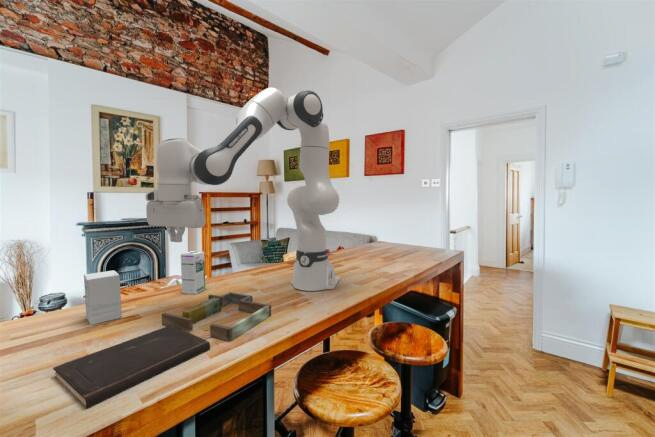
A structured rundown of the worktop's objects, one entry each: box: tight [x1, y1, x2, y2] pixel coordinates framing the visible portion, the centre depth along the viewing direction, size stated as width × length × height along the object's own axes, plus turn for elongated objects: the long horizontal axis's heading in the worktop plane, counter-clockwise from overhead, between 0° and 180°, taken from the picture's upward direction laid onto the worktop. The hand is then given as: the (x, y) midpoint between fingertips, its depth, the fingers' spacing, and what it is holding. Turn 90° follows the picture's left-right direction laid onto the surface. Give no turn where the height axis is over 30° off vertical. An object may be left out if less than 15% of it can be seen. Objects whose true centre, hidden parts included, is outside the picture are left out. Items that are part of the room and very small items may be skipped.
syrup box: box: [180, 250, 206, 295], centre depth 108 cm, size 6×6×14 cm
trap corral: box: [161, 291, 272, 343], centre depth 86 cm, size 22×23×3 cm
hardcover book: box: [52, 325, 211, 409], centre depth 62 cm, size 16×23×2 cm
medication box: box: [181, 298, 222, 325], centre depth 86 cm, size 12×3×4 cm, turn 157°
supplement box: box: [83, 270, 123, 326], centre depth 84 cm, size 7×7×13 cm
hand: (176, 241), depth 88 cm, fingers closed
